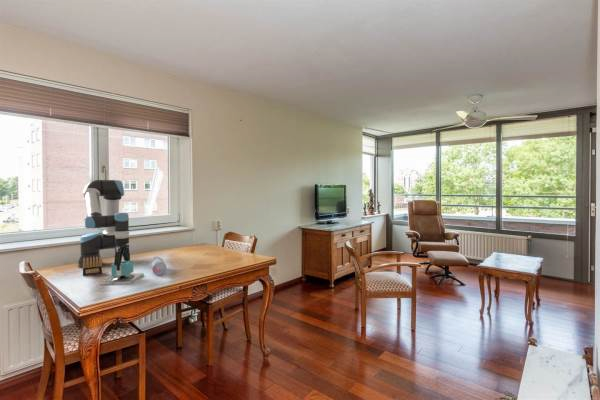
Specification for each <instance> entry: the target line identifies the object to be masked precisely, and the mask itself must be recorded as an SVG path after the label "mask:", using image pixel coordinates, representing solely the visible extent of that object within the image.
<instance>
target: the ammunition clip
mask: <svg viewBox="0 0 600 400" xmlns="http://www.w3.org/2000/svg"><path fill="white" fill-rule="evenodd" d="M101 258H102V256H101V255H100V257H99V262H98V257H96V263H95V257H93V267H92V258H91V257H90V263H89V259H88V257H87V260H86V262H85V258H84V259H83V267H82V276H83V277H86V276H93V275H102V274H103V264H102V261H103V260H102V261H101Z"/></svg>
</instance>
